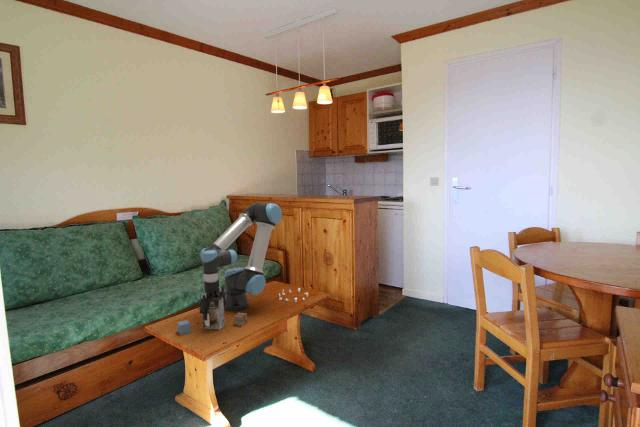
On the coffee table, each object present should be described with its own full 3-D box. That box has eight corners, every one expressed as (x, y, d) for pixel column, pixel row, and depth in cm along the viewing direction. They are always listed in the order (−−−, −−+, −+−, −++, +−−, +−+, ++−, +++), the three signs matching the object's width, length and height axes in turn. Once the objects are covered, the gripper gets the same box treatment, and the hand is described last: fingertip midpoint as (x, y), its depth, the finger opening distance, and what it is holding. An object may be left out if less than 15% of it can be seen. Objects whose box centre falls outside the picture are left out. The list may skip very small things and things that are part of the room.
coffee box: (203, 329, 193) (201, 299, 191) (209, 324, 199) (207, 295, 197) (220, 330, 191) (218, 299, 189) (225, 324, 197) (223, 295, 195)
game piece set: (292, 290, 251) (292, 284, 251) (314, 296, 239) (314, 290, 238) (271, 298, 236) (271, 292, 236) (294, 305, 224) (294, 299, 223)
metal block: (239, 321, 201) (238, 312, 201) (247, 322, 200) (246, 313, 199) (234, 325, 197) (233, 316, 196) (242, 326, 195) (241, 317, 194)
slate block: (187, 329, 194) (187, 319, 193) (190, 332, 190) (189, 322, 189) (177, 331, 191) (177, 322, 190) (180, 335, 187) (179, 325, 186)
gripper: (222, 274, 203) (224, 314, 205) (189, 284, 185) (192, 328, 188) (231, 276, 198) (234, 316, 201) (199, 287, 181) (202, 331, 184)
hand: (214, 322), depth 195 cm, fingers closed on coffee box, 8 cm apart
